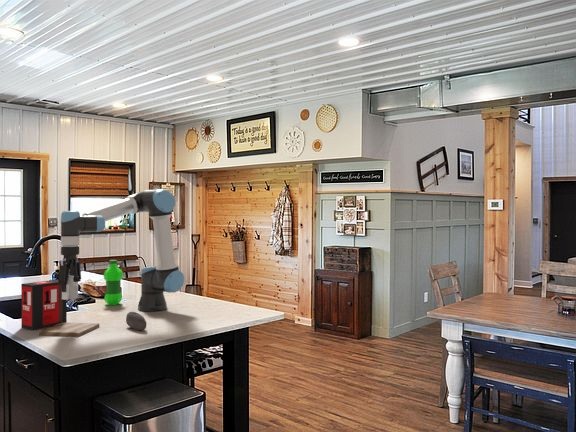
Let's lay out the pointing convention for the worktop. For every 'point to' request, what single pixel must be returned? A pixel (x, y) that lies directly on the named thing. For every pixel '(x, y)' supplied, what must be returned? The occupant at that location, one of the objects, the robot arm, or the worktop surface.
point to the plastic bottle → (113, 283)
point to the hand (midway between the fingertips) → (70, 297)
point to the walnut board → (69, 329)
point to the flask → (72, 288)
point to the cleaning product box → (42, 305)
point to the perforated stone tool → (136, 321)
